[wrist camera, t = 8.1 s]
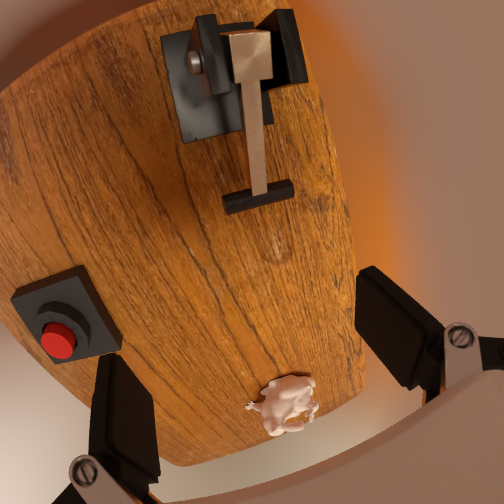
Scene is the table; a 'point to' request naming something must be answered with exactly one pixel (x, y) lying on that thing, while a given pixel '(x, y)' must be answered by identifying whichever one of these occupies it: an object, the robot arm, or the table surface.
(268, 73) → the lever
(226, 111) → the switch bracket
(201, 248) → the table surface
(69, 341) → the button
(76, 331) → the control block
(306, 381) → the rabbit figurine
